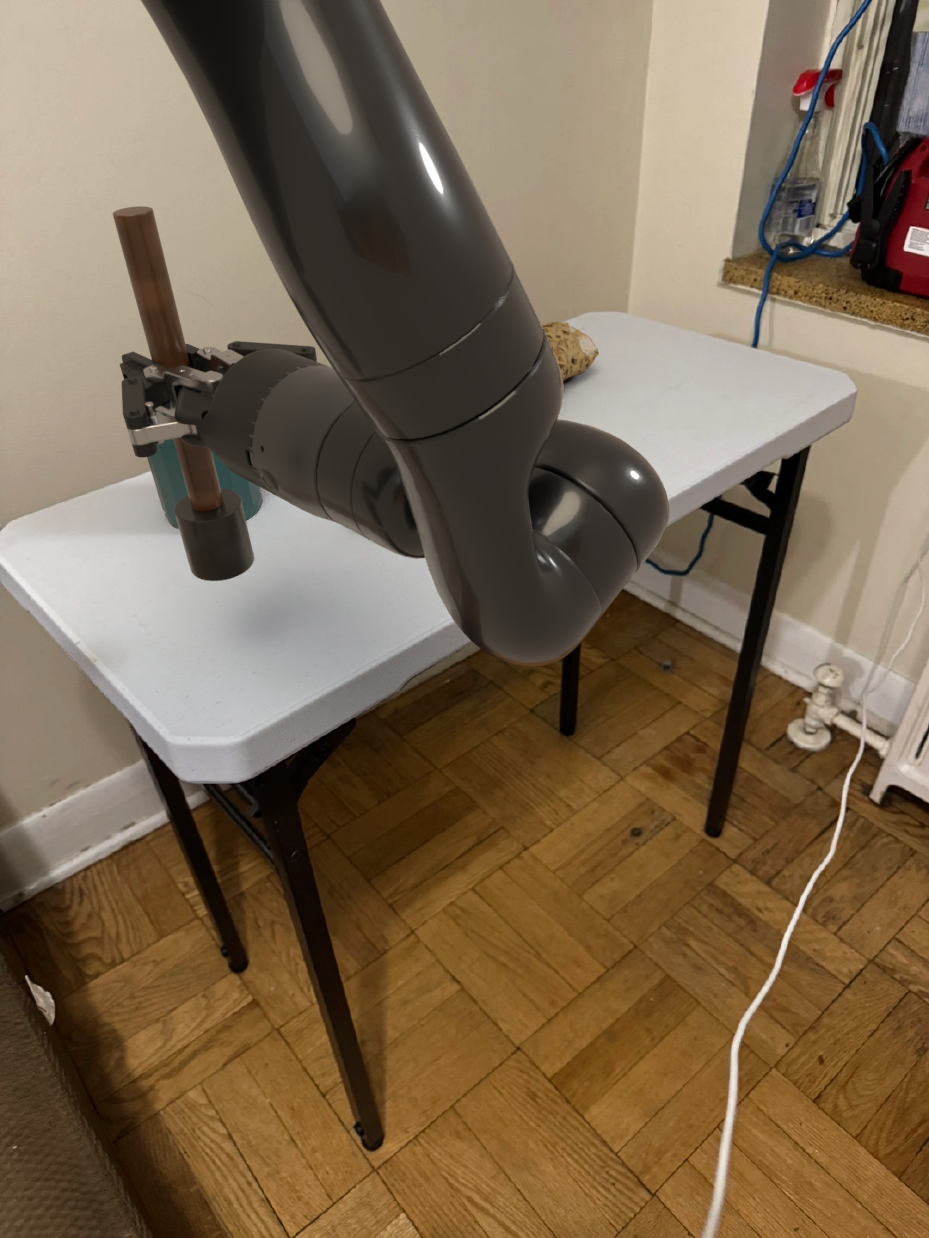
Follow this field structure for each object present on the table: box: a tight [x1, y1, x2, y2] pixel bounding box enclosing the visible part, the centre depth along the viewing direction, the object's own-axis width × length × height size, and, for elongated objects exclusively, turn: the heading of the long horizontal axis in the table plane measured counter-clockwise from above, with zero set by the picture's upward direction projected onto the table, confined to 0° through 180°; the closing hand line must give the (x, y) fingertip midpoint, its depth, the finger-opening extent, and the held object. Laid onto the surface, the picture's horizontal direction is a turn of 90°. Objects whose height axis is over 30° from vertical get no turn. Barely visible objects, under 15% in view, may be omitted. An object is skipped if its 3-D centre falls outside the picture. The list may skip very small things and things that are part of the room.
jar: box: [146, 410, 264, 530], centre depth 84 cm, size 10×10×11 cm
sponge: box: [541, 320, 600, 382], centre depth 103 cm, size 13×8×20 cm
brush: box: [112, 205, 255, 582], centre depth 56 cm, size 5×5×24 cm
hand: (149, 362), depth 56 cm, fingers closed on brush
